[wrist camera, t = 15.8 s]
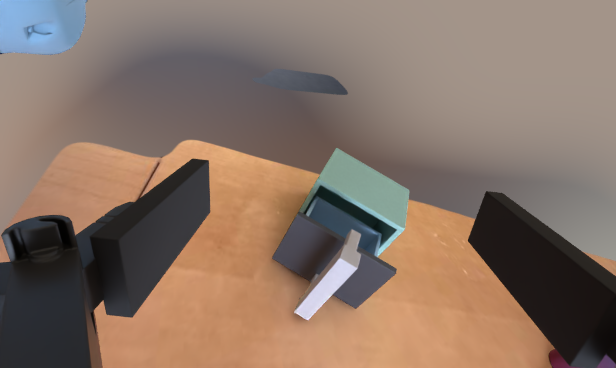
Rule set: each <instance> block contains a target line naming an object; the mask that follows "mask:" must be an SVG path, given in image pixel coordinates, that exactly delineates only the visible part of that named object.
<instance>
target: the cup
mask: <svg viewBox="0 0 616 368" xmlns="http://www.w3.org/2000/svg"><path fill="white" fill-rule="evenodd" d="M549 358H550V362H551V365H552V367H553V368H580V367H571V366H569V365H568V364H567V362H566V361H565V360H564V359H563V357H562V356H561V355H560V354H559V353H558V351H557V350H556V349H554V350H552V351H551V352H550V354H549ZM615 367H616V364H615V363H614V362H613V361H612V360H611V359H610V358H609V357H608V356H607V355H605V356H604V358H603V359H602V361H601V362H600V363H599V365H598V366H597V368H615Z"/></svg>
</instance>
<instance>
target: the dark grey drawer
mask: <svg viewBox="0 0 616 368" xmlns="http://www.w3.org/2000/svg"><path fill="white" fill-rule="evenodd" d="M381 237H382V234H381V233H379V232H377V231H376V230H374V229H372V228H371V227H369V226H367V225H365V224H364V223H362V222H360V221H359V220H357V219H355V218H354V217H352V216H350V215H349V214H347V213H345V212H343V211H342V210H340V209H338V208H337V207H335V206H333V205H332V204H330V203H328V202H327V201H325V200H323V199H322V198H320V197H318V196H316V197H315V199H314V201H313V202H312V204H311V206H310V207H309V209H308V211H307V212H306V214H304V213H302V212H300V211H299V212H298V214H297V215H296V217H295V219H294V221H293V222H292V224H291V226H290V228H289V229H288V231H287V233H286V234H285V236H284V238H283V240H282V241H281V243H280V245H279V247H278V248H277V250H276V252H275V253H274V255H273V257H272V259H274V260H276V261H277V262H279V263H281V264H282V265H284V266H285V267H287V268H289V269H290V270H292V271H294V272H295V273H297V274H299V275H300V276H302V277H304V278H305V279H307V280H309V281H310V282H311V283H310V285H309V288H308V289H307V291H306V292H305V293H304V294H303V295H302V297H301V298H300V299H299V301H298V304H297V306H296V308H295V311H294V312H295V313H296V314H298V315H300V316H301V317H303V318H304V319H306V320H309V319H310V318H311V317H312V316H313V314H314V313H315V312H316V311H317V310H318V309H319V308H320V307H321V306H322V305H323V304H324V303H325V302H326V301H327V300H328V299H329V298H330V297H331V296H332V295H334V296H335V297H337V298H339V299H340V300H342V301H344V302H345V303H347V304H349V305H350V306H352V307H353V308H355V309H356V308H357V307H359V306H360V305H361V304H362V303H363V302H364V301H365V300H366V299H368V298H369V297H370V296H371V295H372V294H373V293H374V292H376V291H377V290H378V289H379V288H380V287H381V286H382V285H384V284H385V283H386V282H387V281H388V280H389V279H390V278H391V277H393V276H394V275H395V274H396V270H397V269H396V268H394V267H393V266H391V265H389V264H388V263H386V262H384V261H382V260H381V259H379V258H377V256H378V251H379V246H380V241H381Z"/></svg>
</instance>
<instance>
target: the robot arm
mask: <svg viewBox="0 0 616 368" xmlns="http://www.w3.org/2000/svg"><path fill="white" fill-rule="evenodd" d="M86 2H87V0H0V53H11V52H16V53H29V54H42V55H53V54H59V53H62V52H64V51H67V50H68V49H70V48H71V47H72V46H74V45H75V44H76V42H77V41H78V39H79V38H80V36H81V33H82V30H83V28H84V24H85V18H86V15H85V14H86V13H85V3H86ZM209 213H210V188H209V160H200V159H191V160H190V161H189V162H187V163H186V164H185V165H183V166H182V167H181V168H179V169H178V170H177V171H175V172H174V173H173V174H171V175H170V176H169V177H167V178H166V179H165V180H164V181H162V182H161V183H160V184H158V185H157V186H156V187H154V188H153V189H152V190H150V191H149V192H148V193H146V194H145V195H144V196H142V197H141V198H140V199H138V200H137V201H136V202H128V203H125V204H123V205H120V206H118V207H115V208H114V209H112V210H111V211H109V212H108V213H107V214H105V216H102V217H101V218H100V219H98V220H97V221H96V223H92V224H91V225H90V226H88V227H87V228H85V229H84V230H83V231H81V232H80V233H78V234H77V235H76V236H75V233H74V229H73V225H72V221H71V220H70V218H68V217H65V216H62V215H47V216H39V217H34V218H30V219H26V220H24V221H21V222H18V223H16V224H14V225H12V226H10V227H9V228H7V229H5V231H4V232H3V233H2V235H1V236H2V239H3V242H4V244H5V247H6V250H7V253H8V255H9V258H10V261H11V262H3V263H0V368H103V367H102V360H101V353H100V346H99V339H98V332H97V325H96V318H95V314H94V309H95V308H96V307H97V306H98V305H99V304H100V303H101V302H102V301H103V300H104V305H105V309H106V314H107V315H114V316H123V317H133V316H134V315H135V313H136V312H137V310H138V309H139V308H140V306H141V305H142V304H143V302H144V301H145V300H146V298H147V297H148V296H149V294H150V293H151V291H152V290H153V289H154V287H155V286H156V285H157V283H158V282H159V281H160V279H161V278H162V277H163V275H164V274H165V273H166V271H167V270H168V268H169V267H170V266H171V264H172V263H173V262H174V260H175V259H176V258H177V256H178V255H179V254H180V252H181V251H182V250H183V248H184V247H185V245H186V244H187V243H188V241H189V240H190V239H191V237H192V236H193V235H194V233H195V232H196V231H197V229H198V228H199V227H200V225H201V224H202V222H203V221H204V220H205V218H206V217H207V216H208V214H209ZM468 242H469V243H470V244H471V245H472V247H473V248H474V249H475V250H476V251H477V253H478V254H479V255H480V256H481V258H482V259H483V260H484V261H485V263H486V264H487V265H488V266H489V267H490V269H491V270H492V271H493V272H494V274H495V275H496V276H497V277H498V279H499V280H500V281H501V282H502V284H503V285H504V286H505V287H506V288H507V290H508V291H509V292H510V293H511V295H512V296H513V297H514V298H515V300H516V301H517V302H518V303H519V304H520V306H521V307H522V308H523V309H524V311H525V312H526V313H527V314H528V316H529V317H530V318H531V319H532V321H533V322H534V323H535V324H536V325H537V327H538V328H539V329H540V330H541V332H542V333H543V334H544V335H545V337H546V338H547V339H548V340H549V341H550V343H551V344H552V345H553V346H554V348H555V349H556V350H557V351H558V353H559V354H560V355H561V356H562V357H563V359H564V360H565V361H566V362H567V364H568V365H569V366H571V367H580V368H597V366H598V365H599V363H600V362H601V361H602V359H603V358H604V356H605V355H607V356H608V357H609V358H610V359H611V360H612V361H613V362H614V363H615V364H616V276H615V275H613V274H612V273H611V272H609V271H608V270H606V269H605V268H604V267H602V266H601V265H600V264H598V263H597V262H596V261H594V260H593V259H591V258H590V257H589V256H587V255H586V254H585V253H583V252H582V251H581V250H579V249H578V248H576V247H575V246H574V245H572V244H571V243H570V242H568V241H567V240H565V239H564V238H563V237H561V236H560V235H559V234H557V233H556V232H554V231H553V230H552V229H551V228H549V227H548V226H546V225H545V224H544V223H542V222H541V221H539V220H538V219H537V218H535V217H534V216H533V215H531V214H530V213H529V212H527V211H526V210H525V209H523V208H522V207H520V206H519V205H518V204H516V203H515V202H514V201H512V200H511V199H510V198H508V197H507V196H506V195H504V194H503V193H497V192H488V191H486V193H485V196H484V198H483V201H482V204H481V206H480V209H479V212H478V214H477V217H476V220H475V222H474V225H473V228H472V231H471V233H470V236H469V239H468ZM615 368H616V367H615Z"/></svg>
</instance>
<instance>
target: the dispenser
mask: <svg viewBox="0 0 616 368" xmlns="http://www.w3.org/2000/svg"><path fill="white" fill-rule="evenodd" d="M316 196H318V197H320V198H322V199H323V200H325V201H327V202H328V203H330V204H332V205H333V206H335V207H337V208H338V209H340V210H342V211H343V212H345V213H347V214H349V215H350V216H352V217H354V218H355V219H357V220H359V221H360V222H362V223H364V224H365V225H367V226H369V227H371V228H372V229H374V230H376V231H377V232H379V233H381V234H382V237H381V241H380V246H379V251H378V256H379V255H380V254H381V253H382V252H383V251H384V250H385V249H386V248H387V247H388V246H389V245H390V244H391V243H392V242H393V241H394V240H395V239H396V238H397V237H398V236H399V235H400V234H401V233H402V232H403V231H404V230H405V224H406V215H407V207H408V198H409V190H408V189H406V188H404V187H403V186H401V185H399V184H398V183H396V182H394V181H393V180H391V179H389V178H387V177H386V176H384V175H382V174H381V173H379V172H377V171H375V170H374V169H372V168H370V167H369V166H367V165H365V164H363V163H361V162H360V161H358V160H357V159H355V158H353V157H351V156H350V155H348V154H346V153H345V152H343V151H341V150H339V149H338V148H336V150H335V151H334V153H333V154H332V156H331V158H330V159H329V161H328V163H327V164H326V166H325V168H324V169H323V171H322V172H321V174H320V176H319V177H318V179H317V181H316V182H315V184H314V186H313V188H312V189H311V191H310V193H309V195H308V196H307V198H306V200H305V201H304V203H303V205H302V207H301V208H300V210H299V211H300V212H302V213H304V214H306V212H307V211H308V209H309V207H310V206H311V204H312V202H313V201H314V199H315V197H316ZM293 221H294V220H293ZM378 256H377V257H378Z"/></svg>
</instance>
